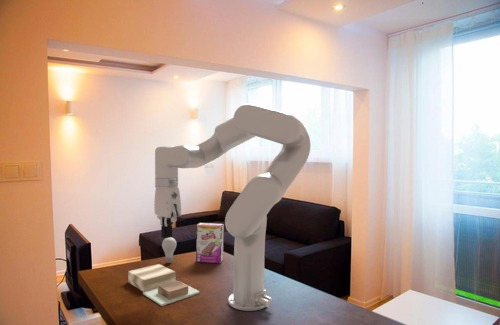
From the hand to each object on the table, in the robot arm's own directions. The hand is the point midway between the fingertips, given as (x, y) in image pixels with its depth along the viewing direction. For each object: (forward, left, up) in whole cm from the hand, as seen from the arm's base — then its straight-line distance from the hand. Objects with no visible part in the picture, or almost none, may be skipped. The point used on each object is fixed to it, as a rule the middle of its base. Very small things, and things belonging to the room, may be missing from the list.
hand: (166, 237), depth 109 cm
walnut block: (-5, 0, -16) cm, 17 cm away
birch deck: (+9, 0, -18) cm, 20 cm away
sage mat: (-4, 0, -18) cm, 18 cm away
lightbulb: (+24, -16, -18) cm, 34 cm away
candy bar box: (+14, -30, -18) cm, 38 cm away
